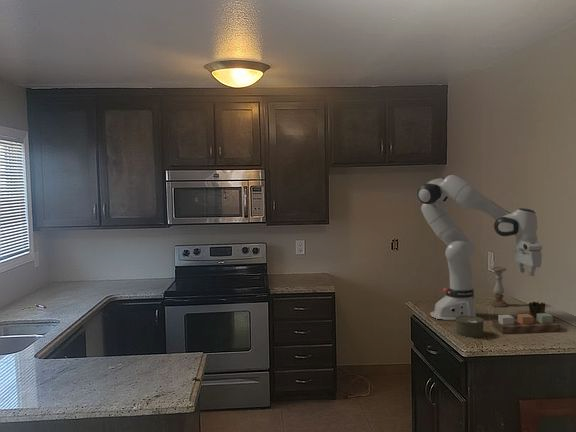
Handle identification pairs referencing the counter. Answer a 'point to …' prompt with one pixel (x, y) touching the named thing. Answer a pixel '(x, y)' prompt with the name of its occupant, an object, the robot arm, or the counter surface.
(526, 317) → the terracotta button
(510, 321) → the grey button
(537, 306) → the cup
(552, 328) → the walnut button board
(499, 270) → the candle holder
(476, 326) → the can
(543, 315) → the sage button
